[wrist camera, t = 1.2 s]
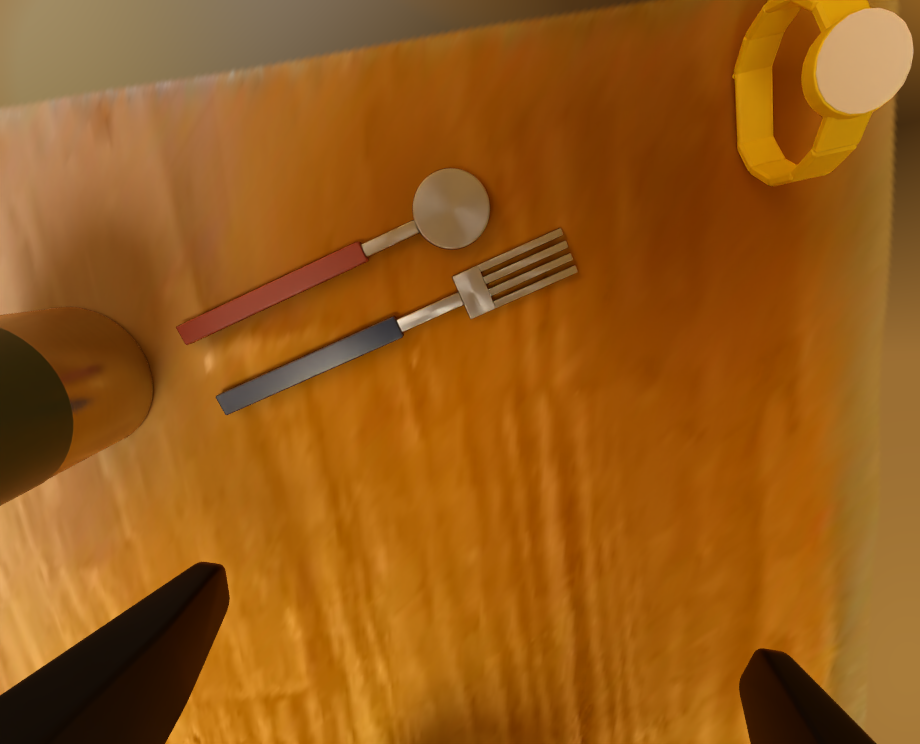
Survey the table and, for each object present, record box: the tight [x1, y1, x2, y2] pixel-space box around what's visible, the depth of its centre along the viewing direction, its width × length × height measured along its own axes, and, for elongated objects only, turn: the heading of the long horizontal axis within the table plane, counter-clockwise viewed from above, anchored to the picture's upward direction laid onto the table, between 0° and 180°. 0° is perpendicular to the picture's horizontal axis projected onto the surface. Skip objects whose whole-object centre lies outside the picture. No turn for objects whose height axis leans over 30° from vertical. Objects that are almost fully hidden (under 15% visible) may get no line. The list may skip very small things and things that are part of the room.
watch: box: [732, 0, 913, 187], centre depth 17 cm, size 6×3×6 cm, turn 12°
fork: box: [216, 228, 578, 415], centre depth 22 cm, size 17×2×1 cm, turn 114°
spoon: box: [176, 168, 490, 345], centre depth 21 cm, size 15×3×1 cm, turn 114°
